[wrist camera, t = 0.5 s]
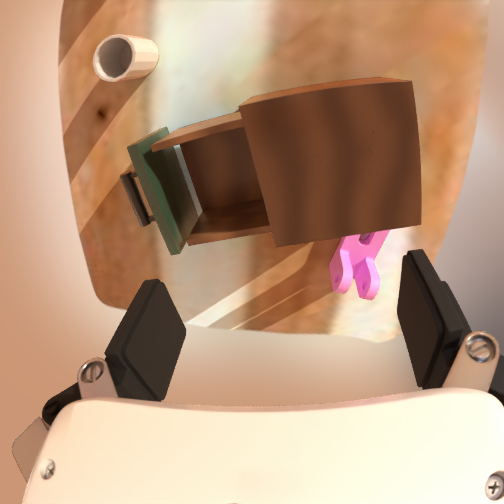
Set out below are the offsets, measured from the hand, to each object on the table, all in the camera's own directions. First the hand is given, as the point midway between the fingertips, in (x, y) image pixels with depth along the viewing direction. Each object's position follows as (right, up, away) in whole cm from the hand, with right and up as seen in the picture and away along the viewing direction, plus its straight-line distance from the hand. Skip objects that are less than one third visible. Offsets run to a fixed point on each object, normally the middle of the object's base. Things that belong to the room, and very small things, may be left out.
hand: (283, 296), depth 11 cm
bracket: (+15, +4, +30) cm, 34 cm away
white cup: (-15, +26, +19) cm, 36 cm away
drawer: (-6, +12, +26) cm, 29 cm away
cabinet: (+8, +15, +23) cm, 29 cm away
